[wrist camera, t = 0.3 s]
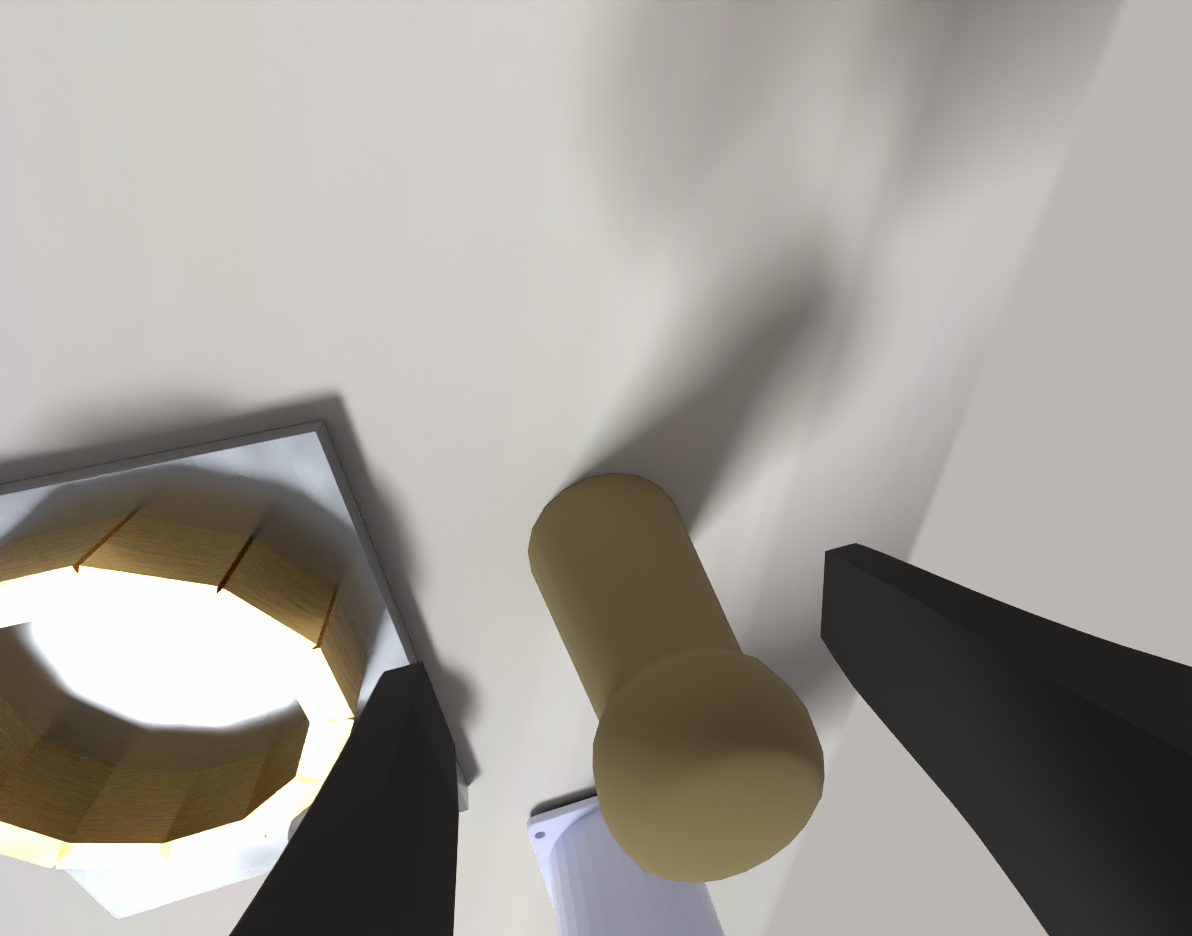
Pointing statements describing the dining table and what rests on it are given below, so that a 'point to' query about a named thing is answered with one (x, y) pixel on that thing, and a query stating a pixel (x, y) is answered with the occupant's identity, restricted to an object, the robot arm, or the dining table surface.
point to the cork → (671, 689)
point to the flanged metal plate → (183, 660)
